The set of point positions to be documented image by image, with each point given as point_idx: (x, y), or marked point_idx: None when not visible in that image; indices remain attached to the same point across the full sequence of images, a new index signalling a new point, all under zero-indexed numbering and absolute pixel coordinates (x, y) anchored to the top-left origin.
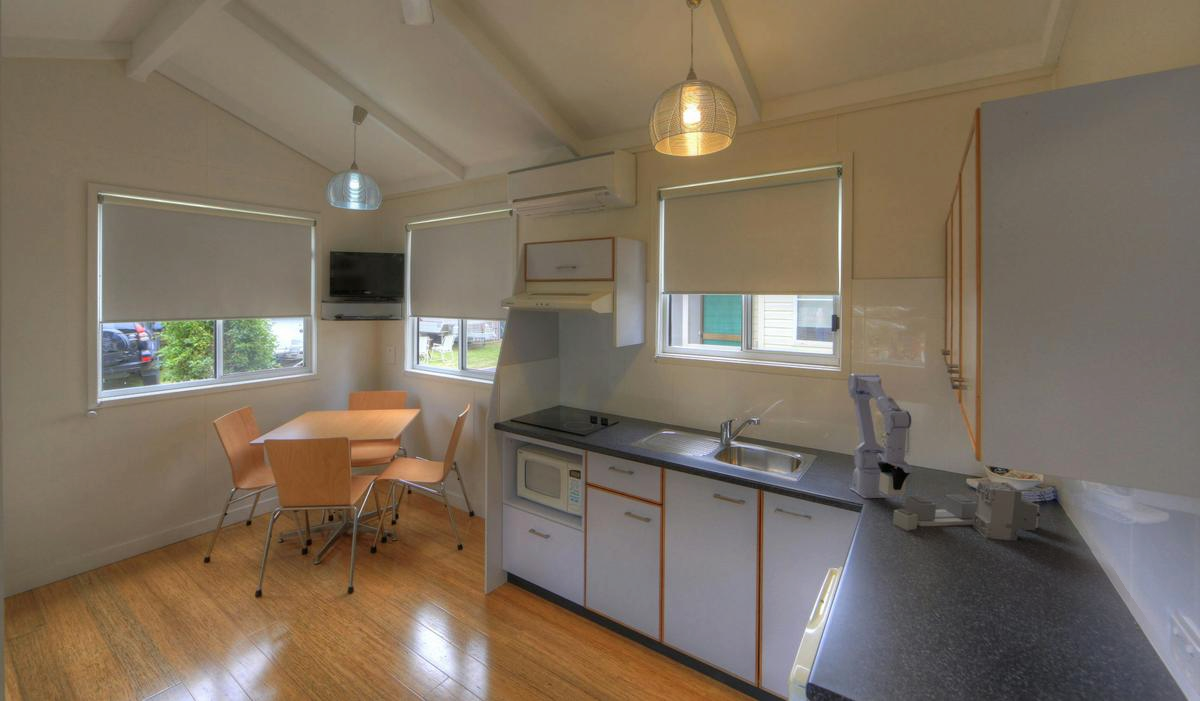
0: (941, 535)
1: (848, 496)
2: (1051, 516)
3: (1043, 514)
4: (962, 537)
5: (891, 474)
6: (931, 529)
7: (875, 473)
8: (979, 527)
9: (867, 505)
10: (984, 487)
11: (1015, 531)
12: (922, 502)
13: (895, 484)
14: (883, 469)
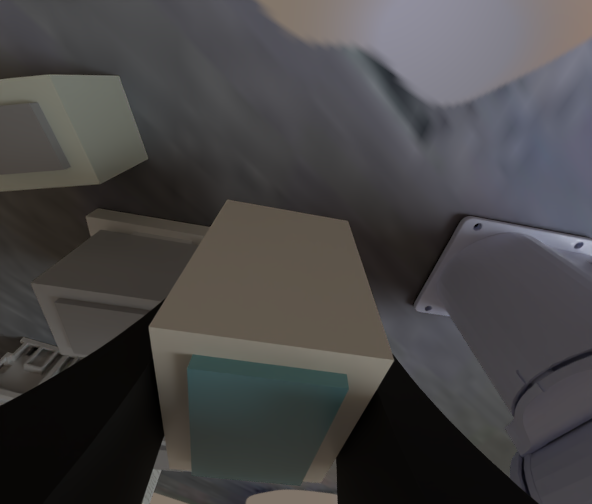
0: (2, 218)
1: (548, 147)
2: (184, 494)
3: (194, 492)
4: (5, 278)
5: (240, 419)
6: (68, 228)
7: (535, 383)
8: (60, 366)
9: (393, 153)
10: None
11: None
12: (57, 308)
13: (156, 309)
14: (393, 454)
